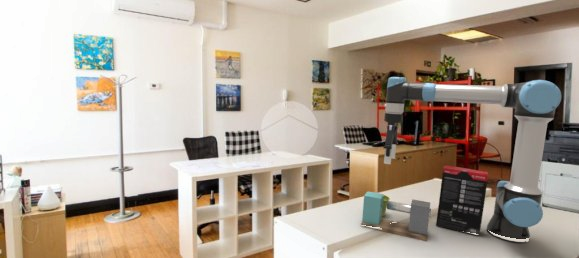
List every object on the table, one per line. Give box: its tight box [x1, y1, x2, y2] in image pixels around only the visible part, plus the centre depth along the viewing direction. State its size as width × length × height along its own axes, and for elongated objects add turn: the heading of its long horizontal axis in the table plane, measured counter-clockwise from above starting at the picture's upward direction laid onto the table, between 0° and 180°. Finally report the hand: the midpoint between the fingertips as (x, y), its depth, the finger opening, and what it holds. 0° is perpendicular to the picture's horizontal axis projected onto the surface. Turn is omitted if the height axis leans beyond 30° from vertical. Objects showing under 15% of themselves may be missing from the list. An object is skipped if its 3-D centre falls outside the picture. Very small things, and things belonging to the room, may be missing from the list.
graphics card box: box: [435, 164, 489, 235], centre depth 138 cm, size 17×7×27 cm, turn 59°
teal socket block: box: [361, 191, 384, 225], centre depth 139 cm, size 7×7×12 cm
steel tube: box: [386, 200, 432, 218], centre depth 133 cm, size 17×4×4 cm, turn 65°
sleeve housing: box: [408, 198, 431, 237], centre depth 131 cm, size 7×7×12 cm
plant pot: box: [382, 194, 390, 217], centre depth 151 cm, size 9×9×9 cm
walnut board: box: [360, 218, 428, 242], centre depth 136 cm, size 26×10×2 cm, turn 65°
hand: (389, 161), depth 141 cm, fingers open, 13 cm apart
